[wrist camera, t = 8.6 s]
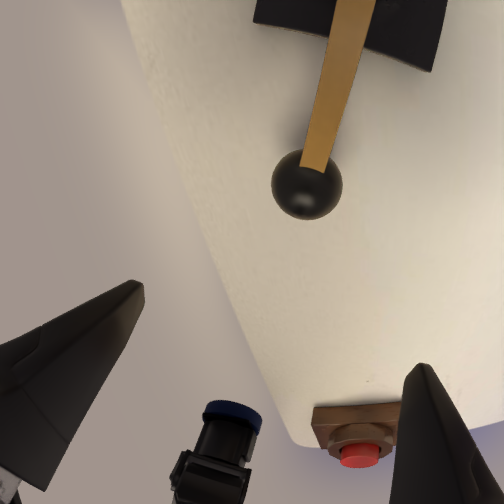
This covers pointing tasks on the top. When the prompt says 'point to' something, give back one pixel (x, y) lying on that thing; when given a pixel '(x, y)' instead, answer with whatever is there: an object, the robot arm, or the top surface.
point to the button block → (356, 426)
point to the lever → (324, 120)
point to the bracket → (380, 28)
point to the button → (359, 455)
